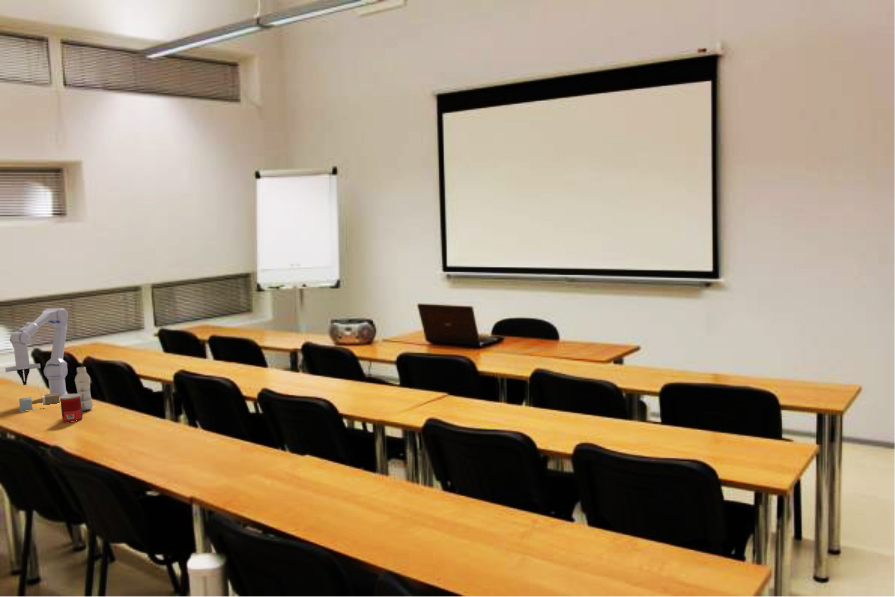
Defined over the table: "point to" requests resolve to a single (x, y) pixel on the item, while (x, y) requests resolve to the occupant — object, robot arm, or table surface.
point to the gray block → (25, 404)
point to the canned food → (71, 407)
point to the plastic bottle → (83, 388)
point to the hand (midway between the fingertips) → (24, 384)
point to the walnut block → (50, 399)
